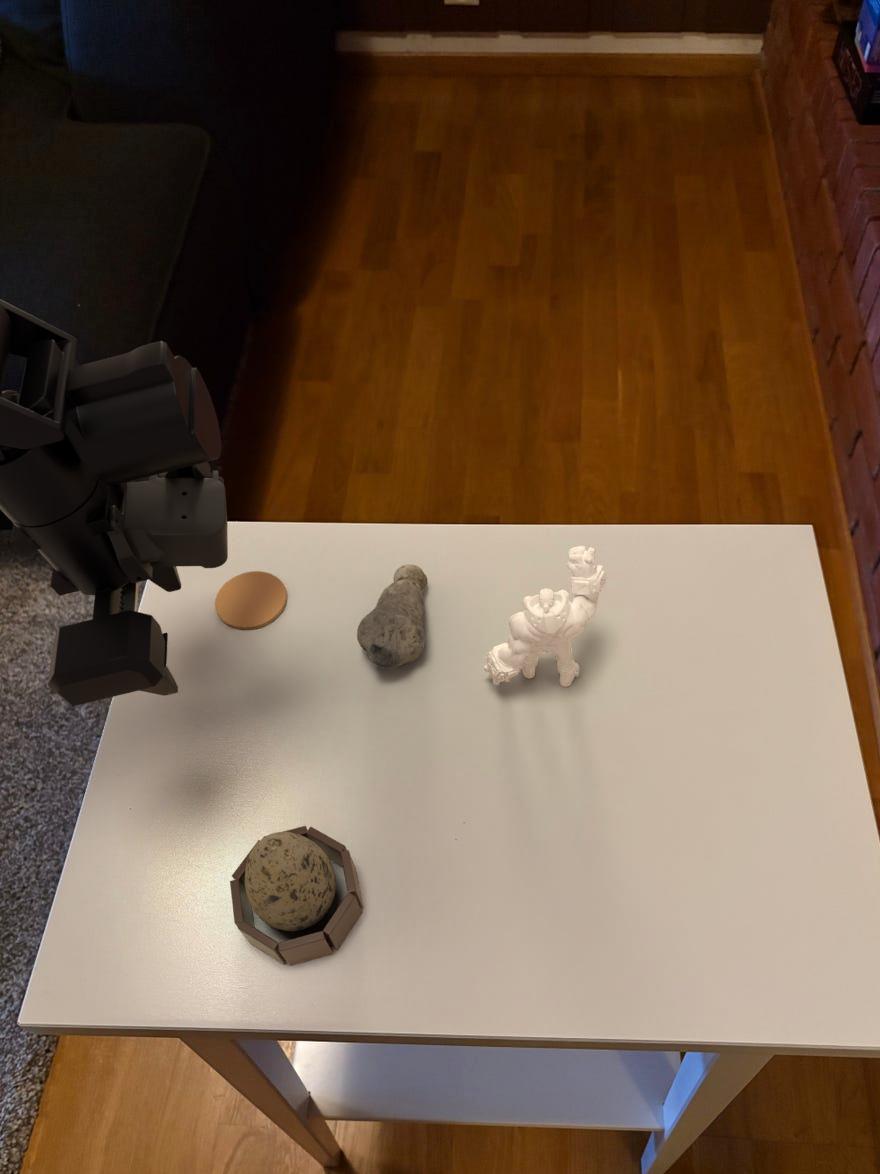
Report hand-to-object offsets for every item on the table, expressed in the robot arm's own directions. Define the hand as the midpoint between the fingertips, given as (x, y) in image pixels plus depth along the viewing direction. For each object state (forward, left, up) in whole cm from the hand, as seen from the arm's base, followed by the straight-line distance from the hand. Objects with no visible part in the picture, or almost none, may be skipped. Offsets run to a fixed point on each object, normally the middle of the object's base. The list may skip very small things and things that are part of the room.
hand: (173, 638), depth 64 cm
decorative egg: (+5, -17, -12) cm, 21 cm away
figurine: (+27, -2, -12) cm, 30 cm away
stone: (+16, +5, -12) cm, 21 cm away
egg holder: (+5, -17, -12) cm, 21 cm away
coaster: (+4, +12, -12) cm, 17 cm away
